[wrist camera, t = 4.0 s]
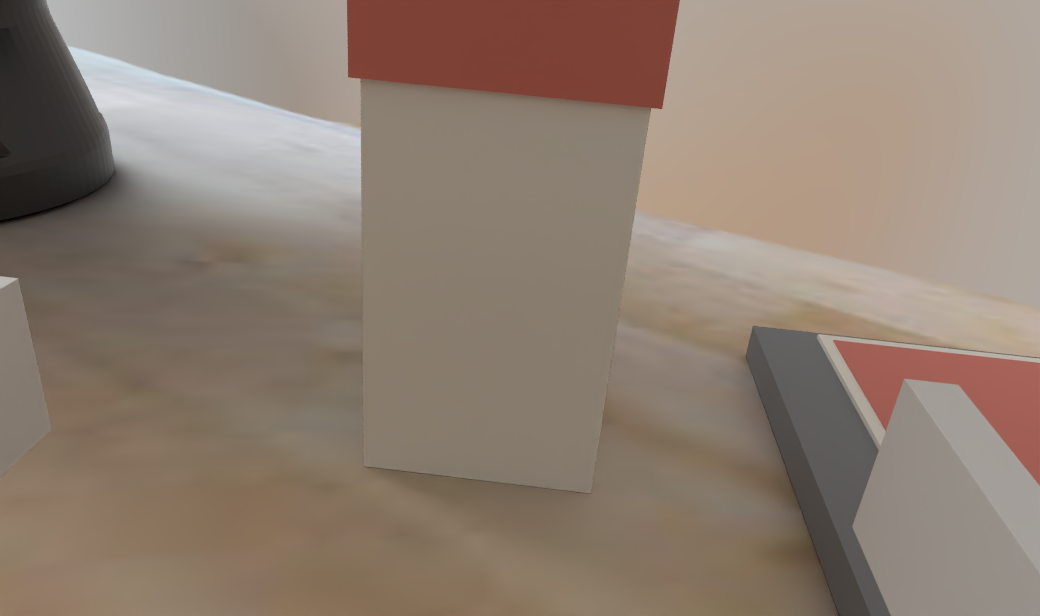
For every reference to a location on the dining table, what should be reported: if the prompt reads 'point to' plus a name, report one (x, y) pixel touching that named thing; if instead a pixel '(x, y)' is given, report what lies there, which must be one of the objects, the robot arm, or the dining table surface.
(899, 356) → the grey flat board
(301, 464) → the dining table surface
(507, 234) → the block
